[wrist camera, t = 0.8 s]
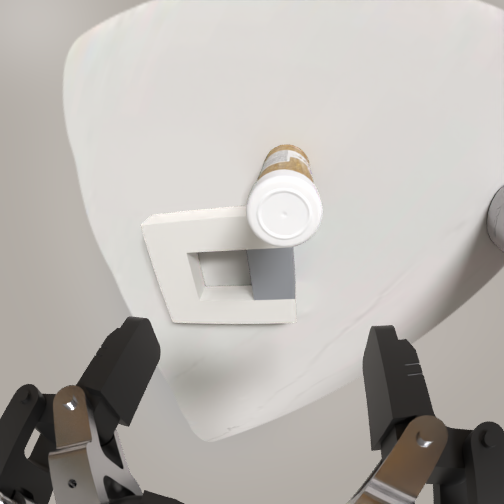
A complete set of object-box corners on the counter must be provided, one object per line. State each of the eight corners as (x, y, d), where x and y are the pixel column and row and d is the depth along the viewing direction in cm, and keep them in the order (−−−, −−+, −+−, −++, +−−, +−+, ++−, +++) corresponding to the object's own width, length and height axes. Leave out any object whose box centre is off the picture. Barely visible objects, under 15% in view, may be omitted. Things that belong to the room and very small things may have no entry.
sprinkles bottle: (316, 176, 28) (334, 235, 17) (275, 193, 30) (265, 260, 18) (298, 136, 27) (305, 164, 15) (256, 154, 28) (230, 196, 16)
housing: (289, 202, 30) (289, 212, 27) (296, 306, 37) (296, 322, 34) (151, 214, 33) (140, 225, 30) (179, 308, 39) (172, 322, 37)
